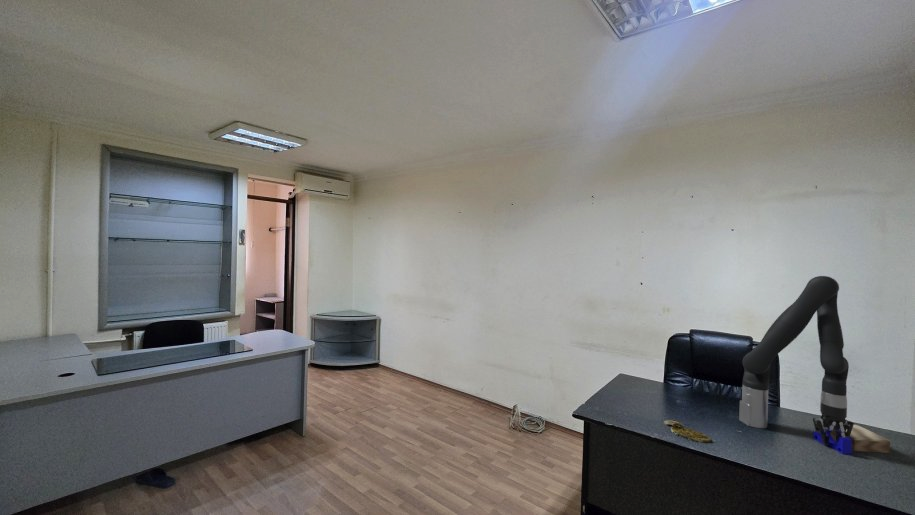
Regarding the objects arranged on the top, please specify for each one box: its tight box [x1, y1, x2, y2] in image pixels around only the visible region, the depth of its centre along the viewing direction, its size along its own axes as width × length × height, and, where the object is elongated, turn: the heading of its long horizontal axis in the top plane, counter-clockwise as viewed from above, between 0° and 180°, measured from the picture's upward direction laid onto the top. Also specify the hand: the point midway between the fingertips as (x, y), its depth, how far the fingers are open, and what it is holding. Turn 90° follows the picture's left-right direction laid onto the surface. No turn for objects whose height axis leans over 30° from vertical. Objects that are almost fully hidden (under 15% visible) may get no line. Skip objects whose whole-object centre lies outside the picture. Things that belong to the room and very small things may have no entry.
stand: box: [830, 424, 891, 454], centre depth 150 cm, size 13×13×5 cm
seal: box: [670, 421, 713, 444], centre depth 154 cm, size 9×5×15 cm
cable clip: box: [812, 427, 852, 456], centre depth 148 cm, size 12×4×6 cm, turn 171°
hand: (832, 444), depth 147 cm, fingers closed on cable clip, 4 cm apart
